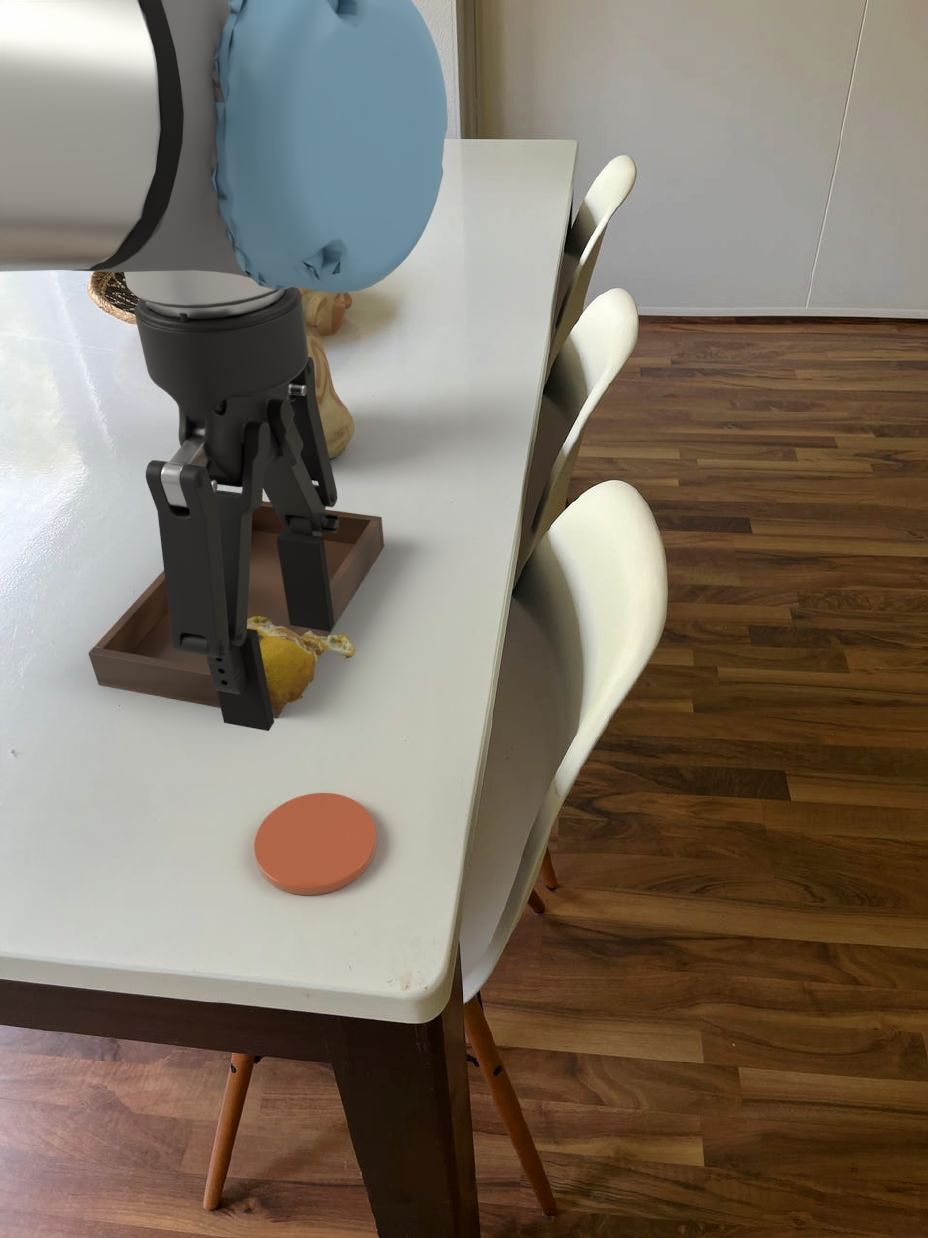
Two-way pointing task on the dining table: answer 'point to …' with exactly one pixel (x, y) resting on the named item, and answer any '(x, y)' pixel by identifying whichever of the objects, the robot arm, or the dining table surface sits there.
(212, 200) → the robot arm
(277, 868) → the plate
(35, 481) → the dining table surface
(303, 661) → the fruit
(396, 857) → the dining table surface
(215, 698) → the bin
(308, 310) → the ceramic vessel
